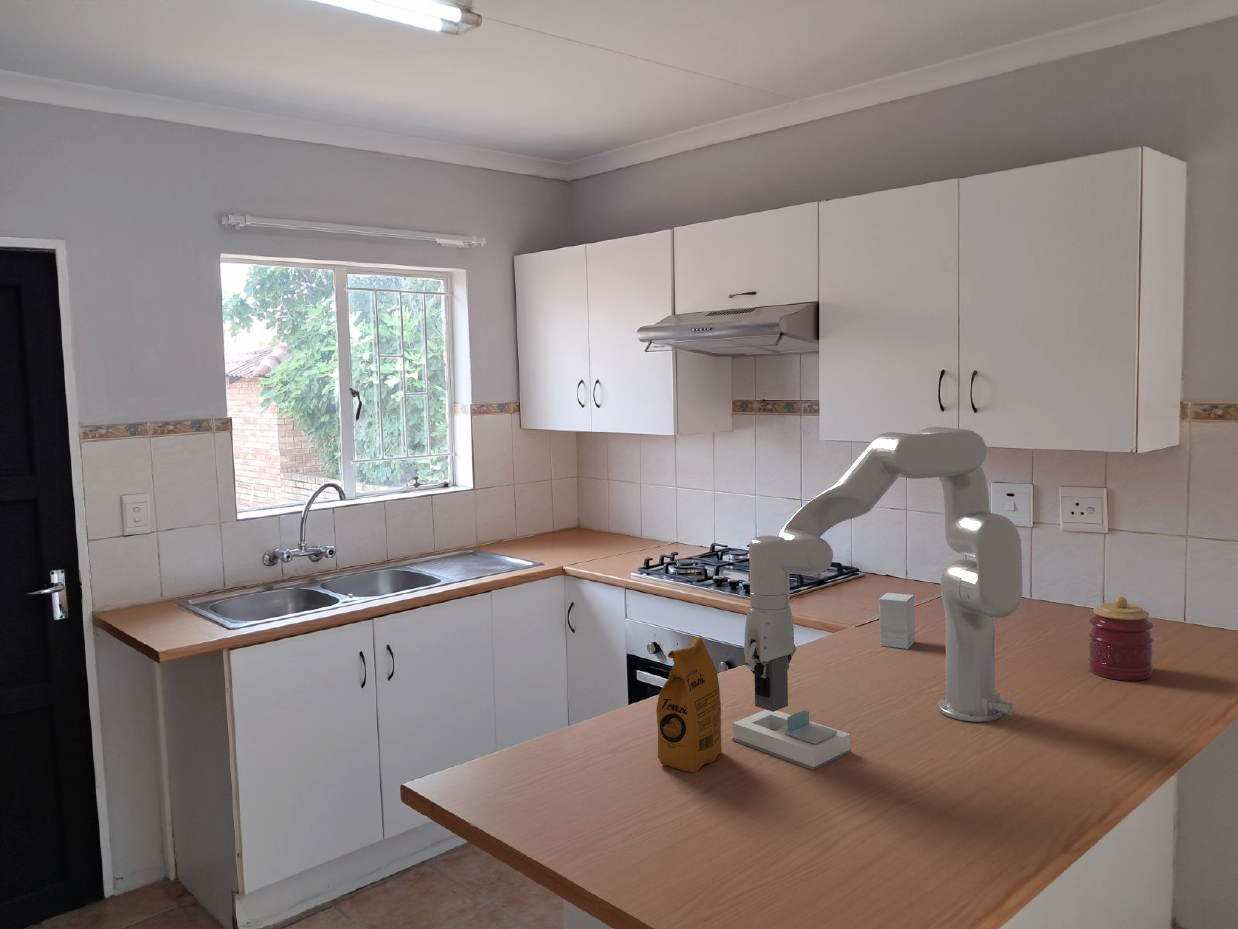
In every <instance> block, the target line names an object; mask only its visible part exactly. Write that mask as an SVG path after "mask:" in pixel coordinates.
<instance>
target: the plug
mask: <svg viewBox="0 0 1238 929" xmlns="http://www.w3.org/2000/svg"><path fill="white" fill-rule="evenodd" d="M759 659H760V658H759ZM759 666H760V667H761V668H762V666H763V664H761V663H760V665H759ZM788 673H789V672H788V670H787V656H783V657H780V658H777V659H774V660H771V661H769V667H768V674H767V677H769V679H770V697H768V698H766V697H762V696H759V695H756V693H755V692H754V706H755V707H757V708H760V709H762V710H769V711H772V712H774V711H776V710H777V711H779V710H781V709H784V708H786V707H788V706H789V691H788V690H789V687H788V686H789V683H788V680H789V679H788V676H789V675H788Z"/></svg>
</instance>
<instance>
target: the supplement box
mask: <svg viewBox="0 0 1238 929" xmlns="http://www.w3.org/2000/svg"><path fill="white" fill-rule="evenodd" d="M878 607H879V612H878V614H879V644H880V647H890V648H897V649H898V648H899V649H907V650H908V649H910V647H911V646H913V644H914V643H915V642H916V638H915V635H916V634H915V633H916V632H915V631H916V630H915V629H916V628H915V595H914V594H905V593H894V592H886V593H885V594H883V595H882V596H881V597H879V599H878Z"/></svg>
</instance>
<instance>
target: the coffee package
mask: <svg viewBox="0 0 1238 929" xmlns="http://www.w3.org/2000/svg"><path fill="white" fill-rule="evenodd" d="M667 657H668V659H672V661H673V665H672V666H671V668H670V671H669V674H668V679H667V680H666V681H665V683H664V685H663V686H662V688H661V690H660V692H659V695H658V699H657V703H656V704H657V705H656V709H655V710H656V723H657V759H658V761H659V762H660V764H661V765H663V766H668V767H671V768H673V769H677V770H680V771H682V772H688V773H696V772H698V771H699V770H700V769H701V768H702V766H704V765H705V764H711V763H713V762H715V761H716V759H717V757H718V755H720V754H721V752H722V732H721V731H722V704H721V694H720V693H721V692H720V682H719V677H718V672H717V668H716V666H715V664H714V661H713V659H712V657H711V655H710V652H709V651H708V649H707V646H706V645H705V643H704V641H703V638H702V637H701V636H697V637H695V638H693V640H692V642H691V645H690V647H686V648H680V649H675V650H670V651H669V652H668V654H667Z"/></svg>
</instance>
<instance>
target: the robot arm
mask: <svg viewBox="0 0 1238 929" xmlns="http://www.w3.org/2000/svg"><path fill="white" fill-rule="evenodd" d="M986 457H987V445H986V442H985V440H984V438H983V437H982V436H981V435H980V434H979V433H977V432H975V431H973V430H970V429H965V428H952V427H945V426H931V427H925V428H923V429H921V430H919V431H918V432H917V433H906V432H905V433H904V432H896V431H895V432H892V431H890V432H882V433H880V434H879V435H877V436H875V437H874V438H873V439H872V440H871V441H870V442H869V443H868V445H867V446H866V447H865V448H864V450H862V452H861V453H860V454H859V455H858V456H857V458H856V459H855V460H854V461H853V462H852V463H851V465H850V466H848V468H847V470H846V471H845V472H844V473H842V475H841V476H840V477H839V479H838V480H837V481H835V482H834V483H833V484H832V486H830V487H828V488H826V489H825V490H823V491H821V493H819V494H818V495H817V496H815V497H814V498H812V499H811V500H809V501H808V502H807V503H805V504H803V506H801V507H800V508H799V509H798V510H797V511H796V512H795V513H794V515H793V516H792V517H791V518H789V520H788V521H787V522H786V523H785V525H784V526H783V527H782V528H781V529H780V531H779V533H778V535H776V536H775V535H763V536H756V537H754V538H752V539H751V540H750V541H749V545H748V550H749V551H748V556H749V557H748V558H749V597H750V598H749V599H750V600H749V604H750V606H749V607H750V608H748V609H747V612H746V619H745V627H744V638H743V639H744V647H743V648H744V649H743V651H744V652H743V654H744V656H745V659H744V661H743V665H744V666H745V667H746V668H748V670H750V671H751V672H752V675H753V676H754V694H755V693H756V695H759V696H762V697H766V698H768V697H770V679H769V677H767V674H768V667H769V661H771V660H774V659H777V658H780V657H783V656H787V671H789V669H790V663H791V661H792V658H793V656H794V654H795V653H796V651H797V646H796V645H795V633H794V632H795V630H794V622H793V621H794V620H793V614H792V608H791V605H790V600H791V599H790V597H791V596H790V574H792V575H793V574H794V575H807V576H809V575H811V576H812V575H819V574H821V573H824V572H825V571H827V570H828V568H829V567H830V566H831V565H832V562H833V558H834V552H833V549H832V547H831V544H829V543H828V542H827V540H825V539H823V538H821V537H822V536H823V535H824V534H825V533H826V532H827V531H829V530H831V528H833V527H835V526H836V525H838V524H841V523H842V522H846V521H849V520H852V519H856V518H858V517H862V516H863V515H866V514H868V513H869V512H871V510H872V509H874V507H875V505H876V504H878V502H879V501H880V500H881V498H883V496H884V495H885V494H886V493H887V491H888V490H889V489H890V488H891V487H892V486H893V485H894V484H895V482H896V481H897V480H898V479H899V478H905V479H910V480H911V479H913V480H914V479H915V480H919V479H930V478H931V479H934V478H938V479H939V481H940V484H941V487H942V491H943V492H942V493H943V494H942V495H943V500H944V501H943V504H944V529H945V539H946V543H947V545H948V546H949V548H950V549H951V550H952V551H954V552H955V553H958V554H961V555H963V556H966V557H971V558H973V559H975V560H976V561H975V560H971V559H958V560H955V561H953V562H950V563H949V564H948V565H947V566H946V567H945V568H944V570H943V572H942V574H941V577H940V594H941V598H942V603H943V608H944V620H945V623H944V624H945V697H943V698H941V699H940V700H939V701H938V703H937V709H938V711H939V712H941V714H943V715H945V716H947V717H949V718H952V719H956V720H960V721H966V722H978V723H979V722H980V723H981V722H991V721H996V720H998V719H1000V718H1002V716H1003V714H1004V715H1007V716H1012V714H1013V712H1014V711H1013V710H1014V706H1013V702H1011V701H1008V700H1002V698H1001V692H1000V691H996V627H995V621H994V618H998V619H1000V618H1001V619H1002V618H1007V617H1009V616H1011V615H1012V614H1014V613H1015V612H1016V610H1017V609H1018V608H1019V606H1020V604H1021V600H1022V597H1023V558H1022V557H1023V555H1022V554H1023V552H1022V542H1021V541H1022V539H1021V535H1020V533H1019V531H1018V528H1017V526H1016V525H1015V523H1013V521H1012V520H1011V519H1009V518H1008V517H1006V516H1004V515H1002V514H998V513H994V512H991V509H990V499H989V488H988V487H989V486H988V481H987V477H986V475H985V472H984V469H983V468H982V465H983V464H984V462H985V460H986ZM759 658H760V659H759ZM760 663H761V664H763V666H762V668H761V667H760V666H759V665H760Z"/></svg>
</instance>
